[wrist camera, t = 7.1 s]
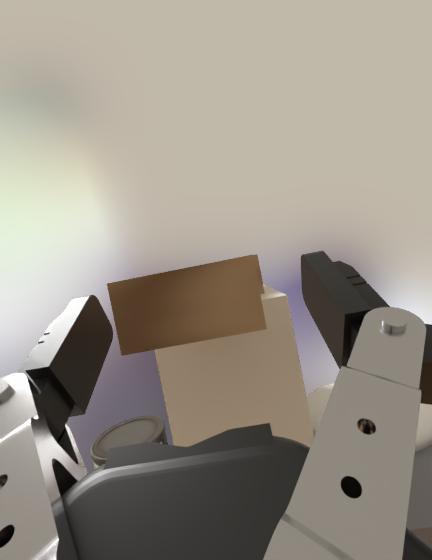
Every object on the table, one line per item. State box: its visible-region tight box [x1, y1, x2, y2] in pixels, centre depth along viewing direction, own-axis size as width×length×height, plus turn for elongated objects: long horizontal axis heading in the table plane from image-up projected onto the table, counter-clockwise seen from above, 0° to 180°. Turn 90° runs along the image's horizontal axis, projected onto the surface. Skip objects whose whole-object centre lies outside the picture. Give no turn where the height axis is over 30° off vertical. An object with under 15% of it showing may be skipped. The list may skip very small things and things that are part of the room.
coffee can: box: [90, 416, 168, 469], centre depth 41 cm, size 10×10×14 cm
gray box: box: [306, 383, 432, 549], centre depth 21 cm, size 10×15×21 cm, turn 177°
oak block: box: [107, 255, 267, 355], centre depth 19 cm, size 7×23×3 cm, turn 177°
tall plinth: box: [155, 285, 314, 447], centre depth 25 cm, size 9×14×32 cm, turn 177°
